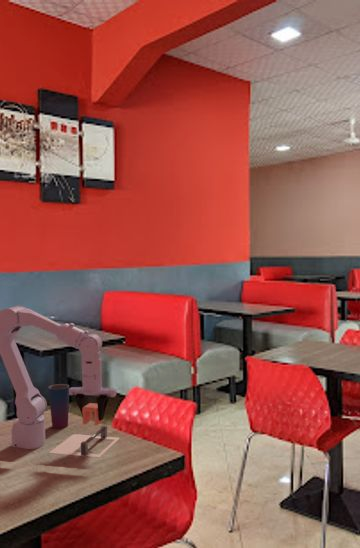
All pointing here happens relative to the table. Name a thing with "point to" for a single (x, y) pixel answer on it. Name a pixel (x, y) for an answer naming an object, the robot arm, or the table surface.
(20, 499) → the table surface
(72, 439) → the pink flat square base
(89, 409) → the orange u-shaped block
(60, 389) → the cup
